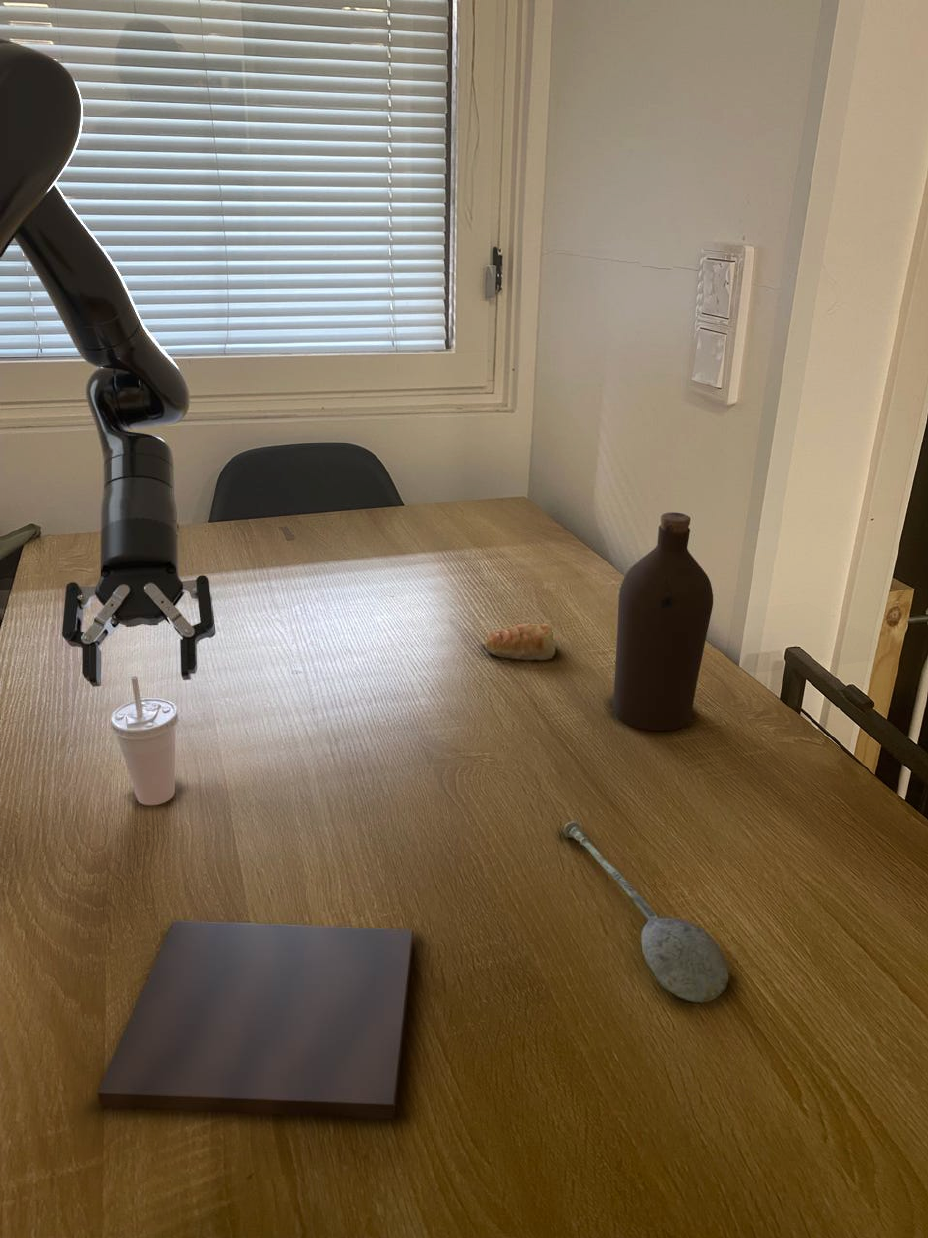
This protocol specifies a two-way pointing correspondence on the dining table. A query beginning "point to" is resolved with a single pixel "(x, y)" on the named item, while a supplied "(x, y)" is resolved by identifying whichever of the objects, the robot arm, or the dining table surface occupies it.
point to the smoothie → (148, 745)
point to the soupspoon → (671, 943)
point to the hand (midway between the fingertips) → (141, 681)
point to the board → (267, 1022)
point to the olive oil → (661, 632)
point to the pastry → (523, 642)
